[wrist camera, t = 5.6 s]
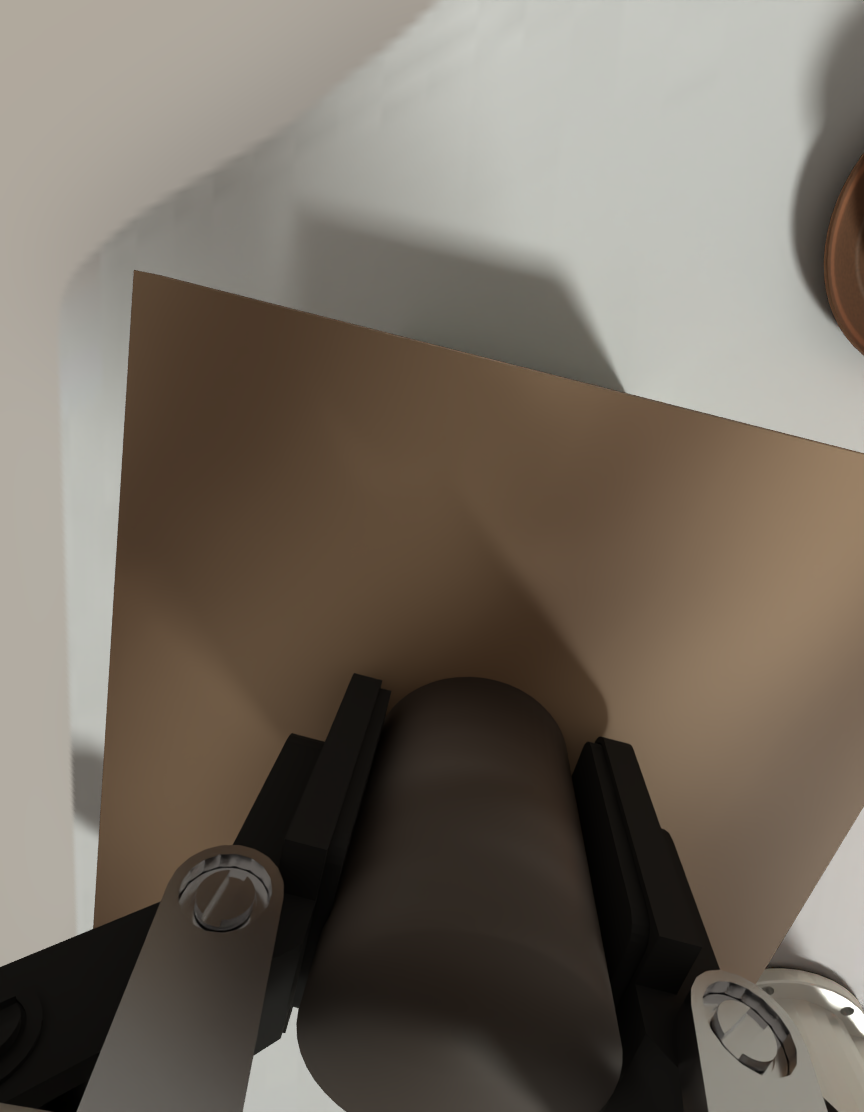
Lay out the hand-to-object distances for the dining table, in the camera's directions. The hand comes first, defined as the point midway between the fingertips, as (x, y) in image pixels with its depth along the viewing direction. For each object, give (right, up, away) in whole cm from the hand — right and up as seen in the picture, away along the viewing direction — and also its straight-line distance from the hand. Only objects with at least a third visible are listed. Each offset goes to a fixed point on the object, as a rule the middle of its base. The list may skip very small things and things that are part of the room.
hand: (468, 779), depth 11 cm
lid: (0, 0, +1) cm, 1 cm away
